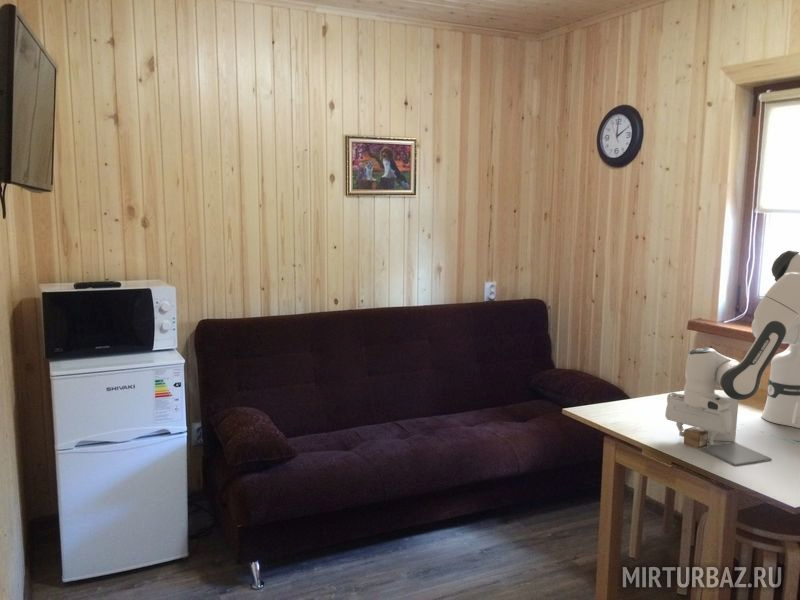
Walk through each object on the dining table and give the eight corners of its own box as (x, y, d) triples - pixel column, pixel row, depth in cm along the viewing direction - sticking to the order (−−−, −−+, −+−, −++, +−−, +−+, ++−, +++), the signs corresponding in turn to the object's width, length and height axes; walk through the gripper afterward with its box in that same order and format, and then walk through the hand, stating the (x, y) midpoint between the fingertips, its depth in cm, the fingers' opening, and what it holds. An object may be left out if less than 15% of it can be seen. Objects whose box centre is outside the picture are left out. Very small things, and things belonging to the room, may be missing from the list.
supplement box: (706, 440, 215) (709, 396, 213) (698, 431, 224) (701, 388, 222) (736, 442, 214) (739, 397, 212) (726, 432, 223) (729, 389, 221)
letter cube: (692, 441, 215) (693, 426, 214) (707, 446, 211) (708, 430, 210) (683, 444, 212) (684, 429, 212) (698, 449, 208) (699, 433, 207)
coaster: (734, 444, 212) (735, 442, 212) (771, 460, 199) (771, 458, 199) (699, 449, 208) (700, 447, 207) (734, 466, 194) (735, 464, 194)
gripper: (662, 393, 215) (660, 433, 217) (726, 407, 200) (723, 450, 201) (672, 389, 219) (670, 429, 221) (735, 403, 204) (732, 446, 206)
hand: (696, 439), depth 211 cm, fingers open, 8 cm apart
